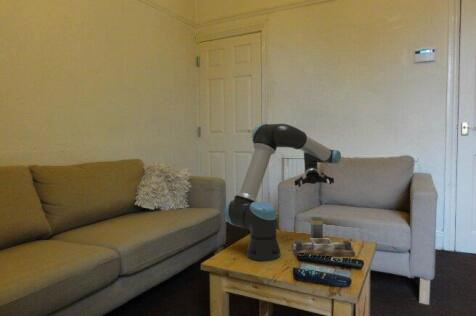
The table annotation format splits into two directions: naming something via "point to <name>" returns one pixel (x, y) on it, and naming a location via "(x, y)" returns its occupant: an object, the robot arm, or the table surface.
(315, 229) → the coupler
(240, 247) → the table surface
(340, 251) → the shaft board
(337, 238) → the table surface
